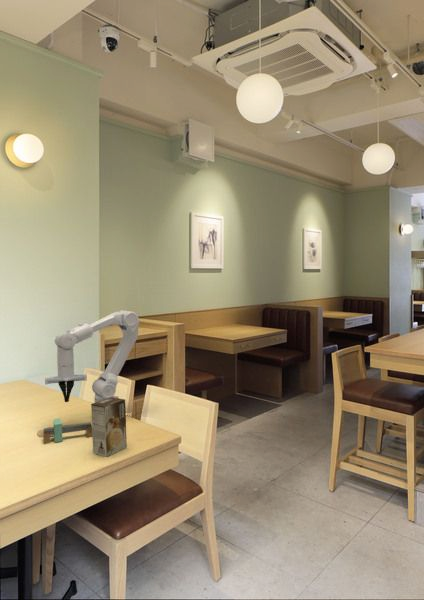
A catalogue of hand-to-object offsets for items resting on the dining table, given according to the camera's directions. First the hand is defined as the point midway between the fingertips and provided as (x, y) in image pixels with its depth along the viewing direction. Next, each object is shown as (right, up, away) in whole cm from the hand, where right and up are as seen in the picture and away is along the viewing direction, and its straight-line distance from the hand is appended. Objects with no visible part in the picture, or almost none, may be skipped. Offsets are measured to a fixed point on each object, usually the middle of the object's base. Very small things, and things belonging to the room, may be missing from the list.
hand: (66, 401), depth 160 cm
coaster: (-4, -10, -5) cm, 12 cm away
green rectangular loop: (+1, -11, -11) cm, 15 cm away
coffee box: (+21, -11, -21) cm, 32 cm away
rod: (+4, -10, -10) cm, 15 cm away
